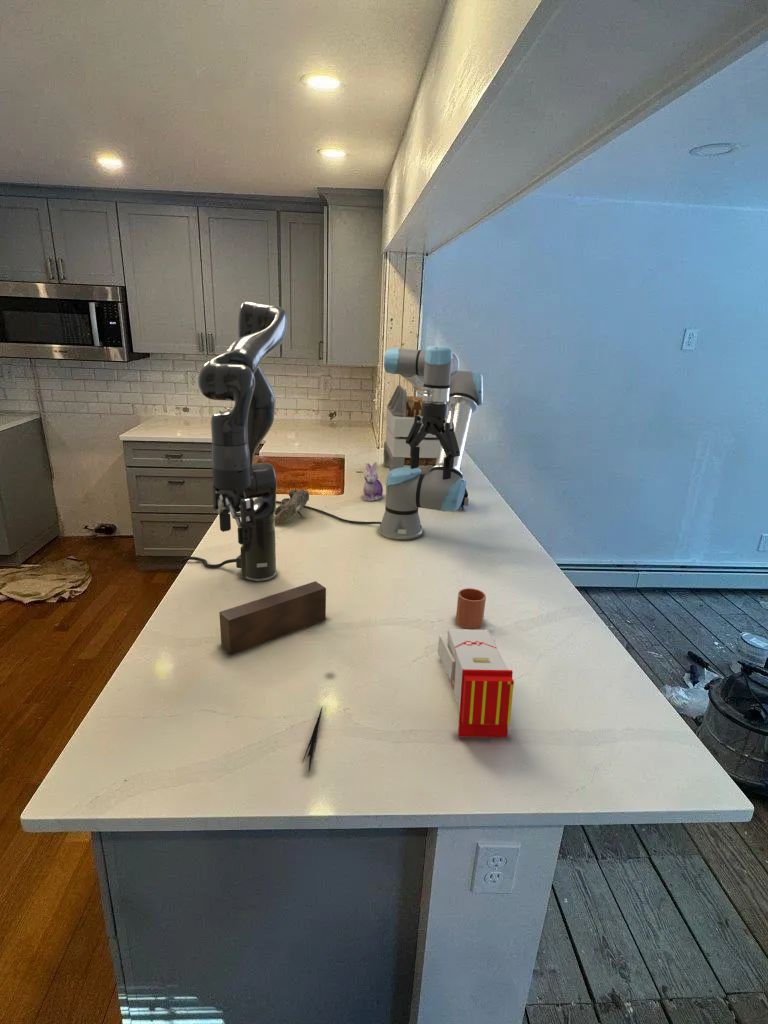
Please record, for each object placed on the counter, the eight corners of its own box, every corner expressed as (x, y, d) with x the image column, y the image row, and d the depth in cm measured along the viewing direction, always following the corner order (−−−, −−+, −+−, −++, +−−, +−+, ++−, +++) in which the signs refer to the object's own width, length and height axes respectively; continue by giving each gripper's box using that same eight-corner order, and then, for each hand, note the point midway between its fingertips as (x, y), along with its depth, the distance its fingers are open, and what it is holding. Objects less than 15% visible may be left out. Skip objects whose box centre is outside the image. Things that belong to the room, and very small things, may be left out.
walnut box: (230, 655, 127) (228, 620, 124) (221, 646, 130) (219, 611, 127) (325, 619, 143) (326, 587, 140) (315, 612, 147) (315, 581, 144)
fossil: (278, 495, 221) (307, 474, 216) (294, 513, 224) (323, 493, 219) (262, 520, 201) (293, 498, 196) (280, 540, 204) (311, 518, 199)
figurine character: (468, 514, 225) (463, 498, 239) (470, 497, 222) (465, 482, 235) (451, 514, 225) (447, 498, 238) (453, 497, 222) (449, 481, 235)
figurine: (367, 502, 230) (368, 467, 225) (357, 495, 238) (358, 460, 233) (388, 500, 234) (389, 465, 229) (377, 492, 242) (378, 458, 237)
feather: (331, 679, 122) (336, 673, 122) (307, 777, 96) (313, 769, 95) (324, 675, 122) (329, 669, 121) (298, 772, 95) (304, 764, 95)
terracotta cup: (450, 620, 145) (452, 593, 143) (467, 612, 150) (470, 585, 147) (470, 632, 141) (473, 603, 138) (488, 623, 145) (491, 596, 142)
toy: (488, 613, 130) (523, 677, 101) (484, 667, 133) (517, 744, 104) (435, 612, 130) (455, 676, 101) (432, 666, 133) (451, 743, 103)
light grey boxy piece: (382, 463, 289) (386, 382, 275) (445, 464, 293) (451, 384, 279) (390, 482, 257) (394, 392, 243) (460, 483, 261) (468, 394, 247)
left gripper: (199, 458, 119) (203, 530, 124) (230, 475, 109) (233, 552, 114) (232, 454, 123) (235, 523, 129) (264, 469, 113) (266, 544, 119)
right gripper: (396, 396, 169) (393, 465, 176) (458, 409, 152) (452, 485, 159) (414, 395, 174) (410, 462, 181) (477, 407, 156) (469, 481, 163)
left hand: (234, 536), depth 122 cm, fingers open, 8 cm apart
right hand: (430, 473), depth 170 cm, fingers open, 13 cm apart
